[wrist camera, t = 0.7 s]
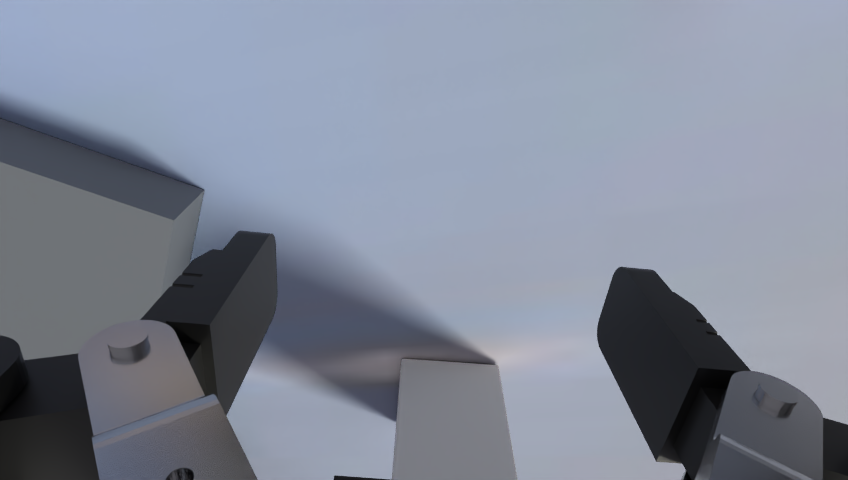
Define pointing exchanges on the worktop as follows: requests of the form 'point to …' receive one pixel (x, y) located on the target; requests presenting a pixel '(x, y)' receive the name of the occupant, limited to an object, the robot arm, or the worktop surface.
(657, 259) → the worktop surface
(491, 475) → the milk carton
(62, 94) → the worktop surface
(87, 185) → the gray square block
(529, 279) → the worktop surface
